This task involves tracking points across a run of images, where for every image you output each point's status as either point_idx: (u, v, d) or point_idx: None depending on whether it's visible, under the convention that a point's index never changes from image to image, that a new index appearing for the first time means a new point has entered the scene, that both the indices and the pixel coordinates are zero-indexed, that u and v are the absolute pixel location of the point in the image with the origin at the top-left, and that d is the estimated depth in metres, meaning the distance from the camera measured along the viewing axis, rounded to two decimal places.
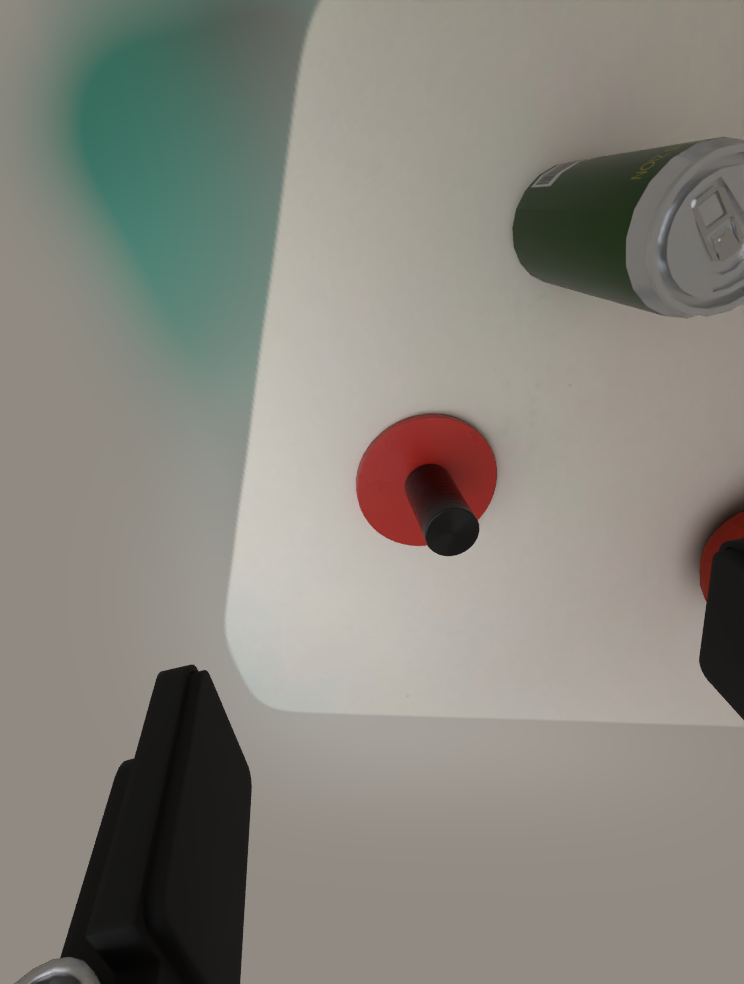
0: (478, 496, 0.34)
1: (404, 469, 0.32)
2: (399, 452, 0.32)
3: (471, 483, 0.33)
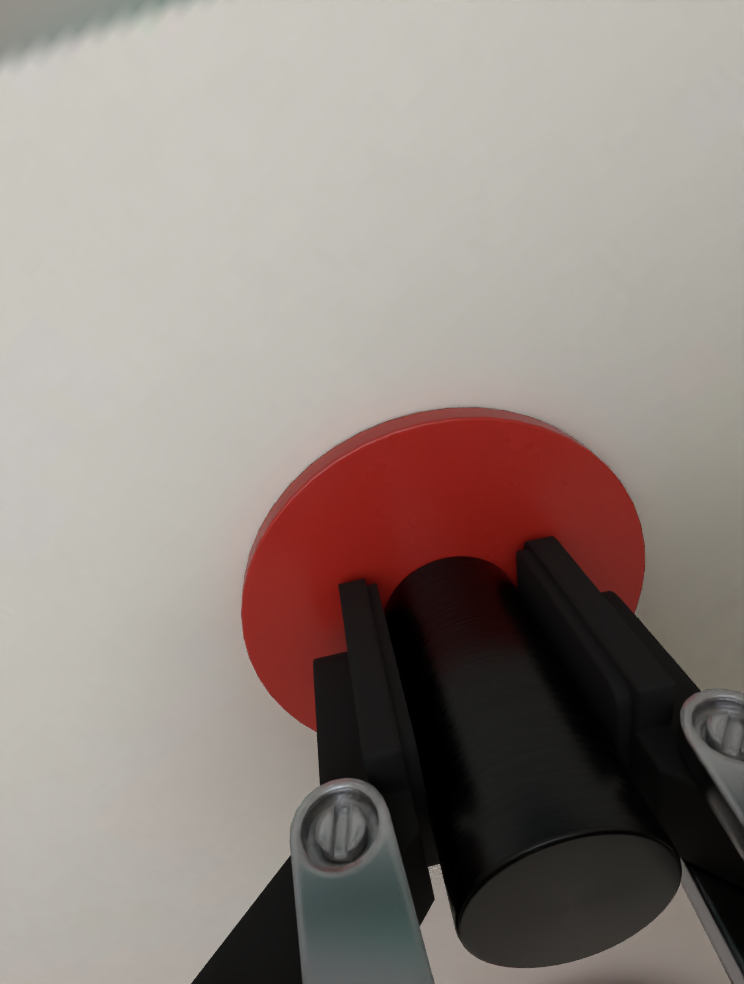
0: None
1: (468, 536, 0.11)
2: (511, 495, 0.10)
3: None
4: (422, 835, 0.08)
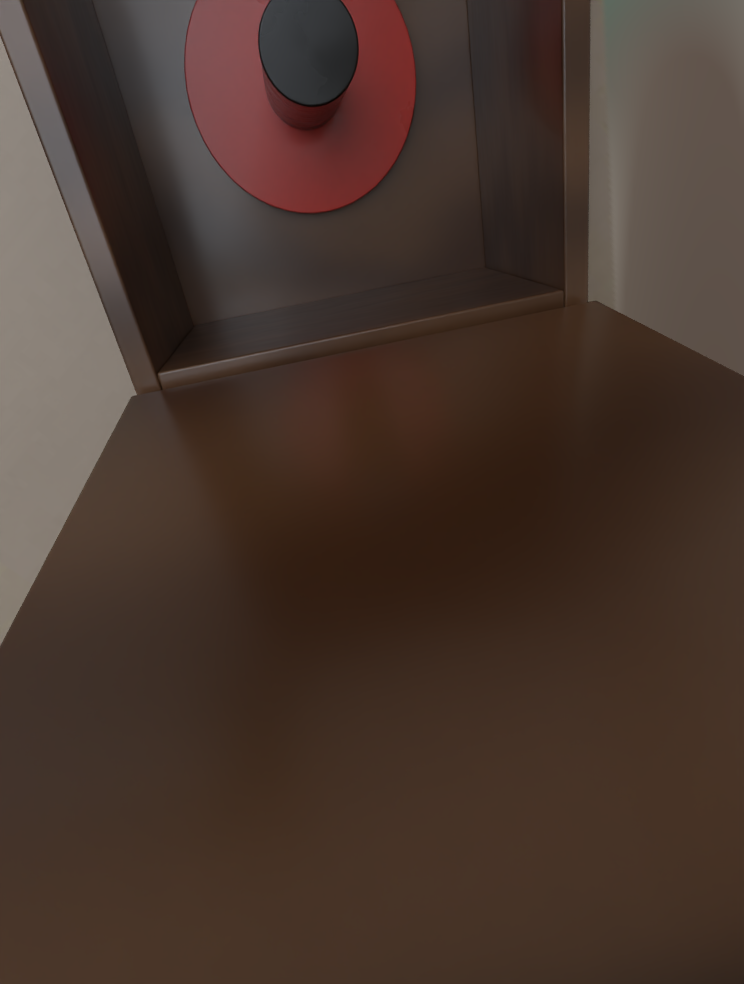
0: (326, 186, 0.22)
1: None
2: None
3: (340, 159, 0.22)
4: None
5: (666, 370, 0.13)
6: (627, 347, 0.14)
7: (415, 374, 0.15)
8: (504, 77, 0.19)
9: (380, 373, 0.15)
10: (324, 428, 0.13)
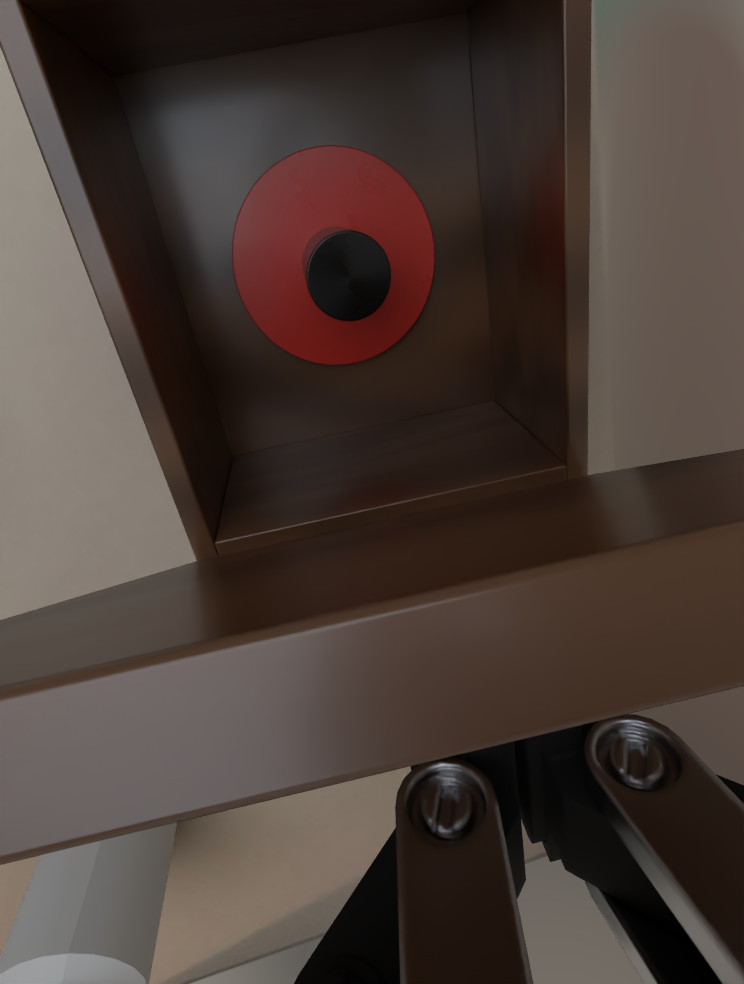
0: (354, 343, 0.25)
1: (340, 215, 0.22)
2: (359, 192, 0.22)
3: (366, 321, 0.24)
4: None
5: (640, 468, 0.15)
6: (610, 473, 0.16)
7: None
8: (513, 271, 0.21)
9: (402, 517, 0.18)
10: (346, 532, 0.15)
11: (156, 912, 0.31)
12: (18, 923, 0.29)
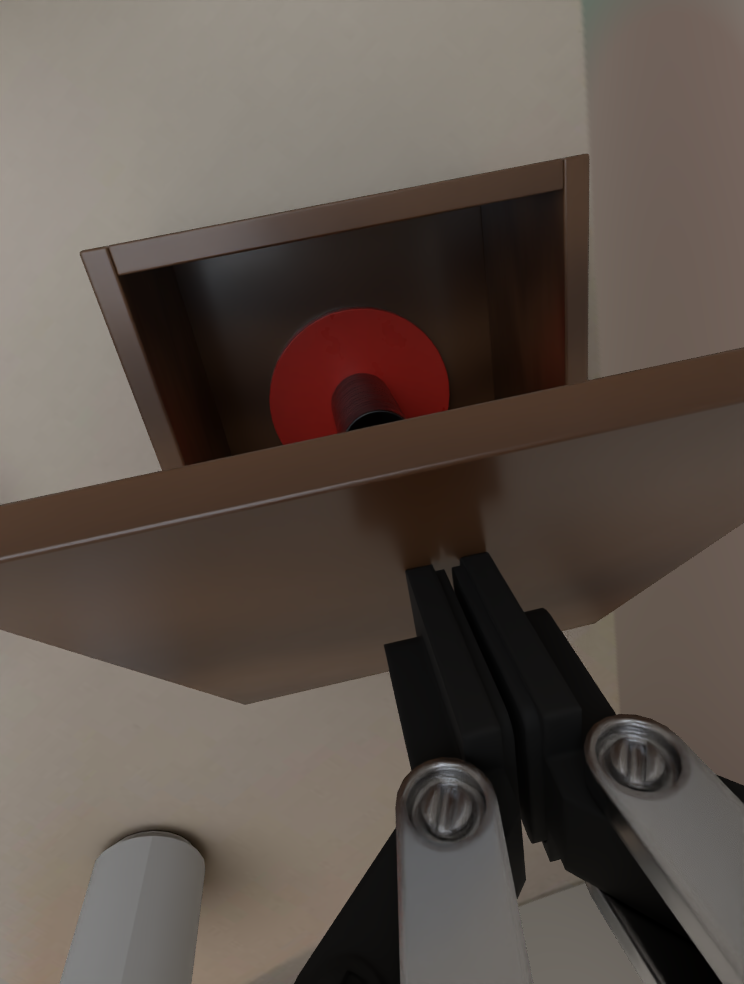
0: None
1: (366, 363, 0.25)
2: (383, 344, 0.25)
3: None
4: None
5: None
6: None
7: None
8: None
9: None
10: None
11: (190, 966, 0.34)
12: (66, 980, 0.32)
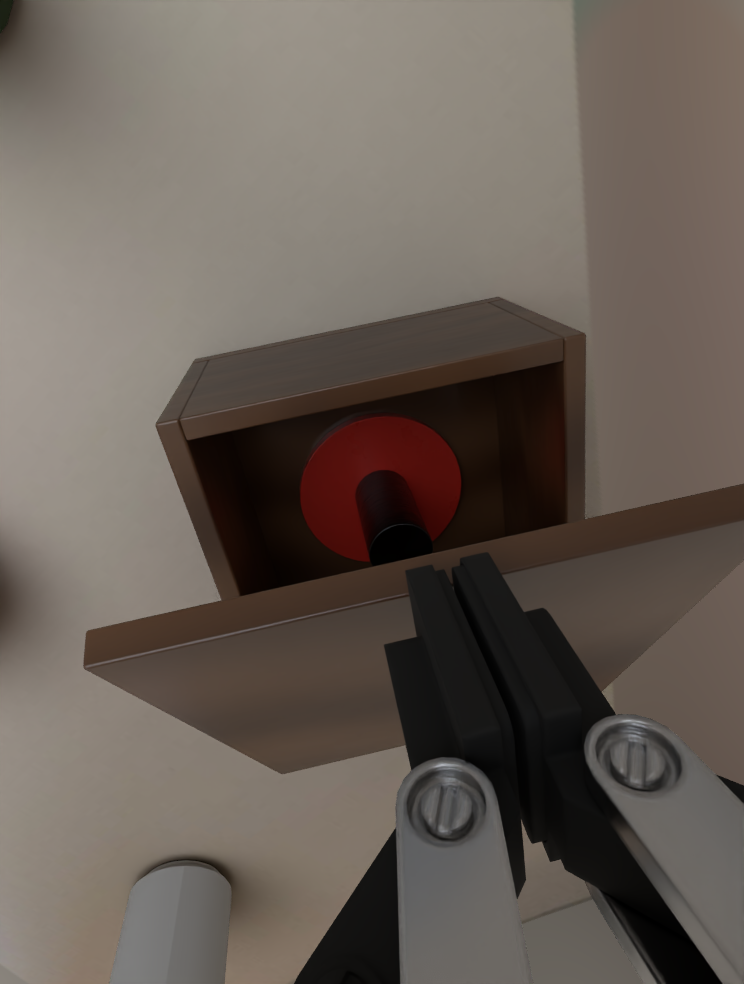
0: None
1: (387, 461, 0.28)
2: (402, 445, 0.28)
3: None
4: None
5: None
6: None
7: None
8: (525, 514, 0.27)
9: None
10: None
11: None
12: None
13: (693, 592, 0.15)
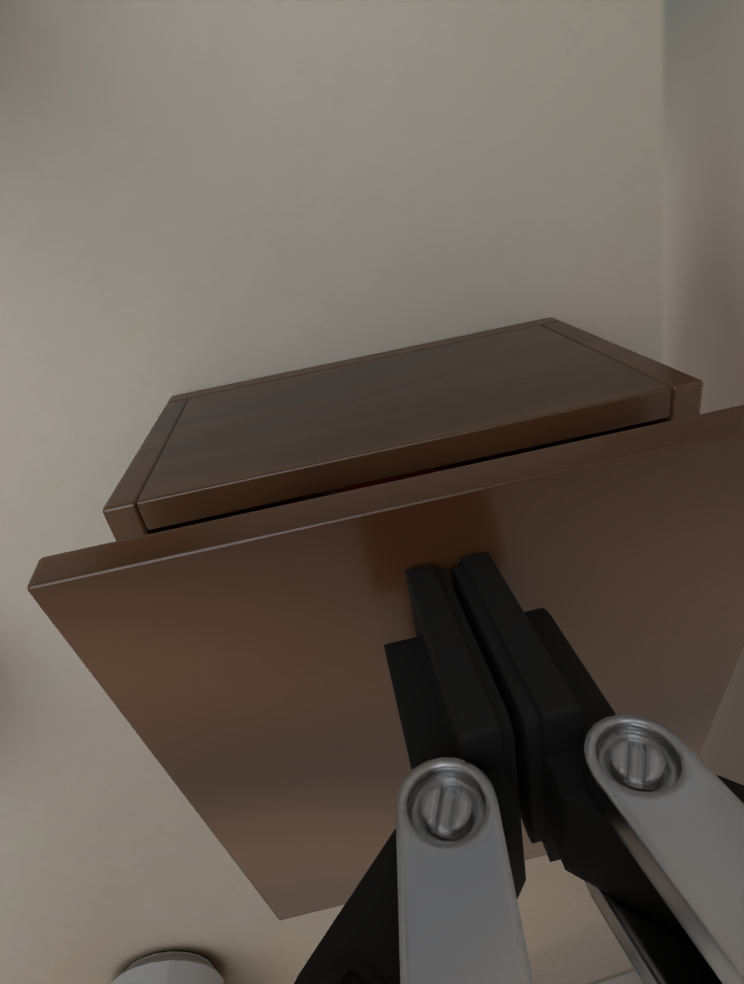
0: None
1: None
2: None
3: None
4: None
5: None
6: None
7: None
8: None
9: None
10: None
11: None
12: None
13: None
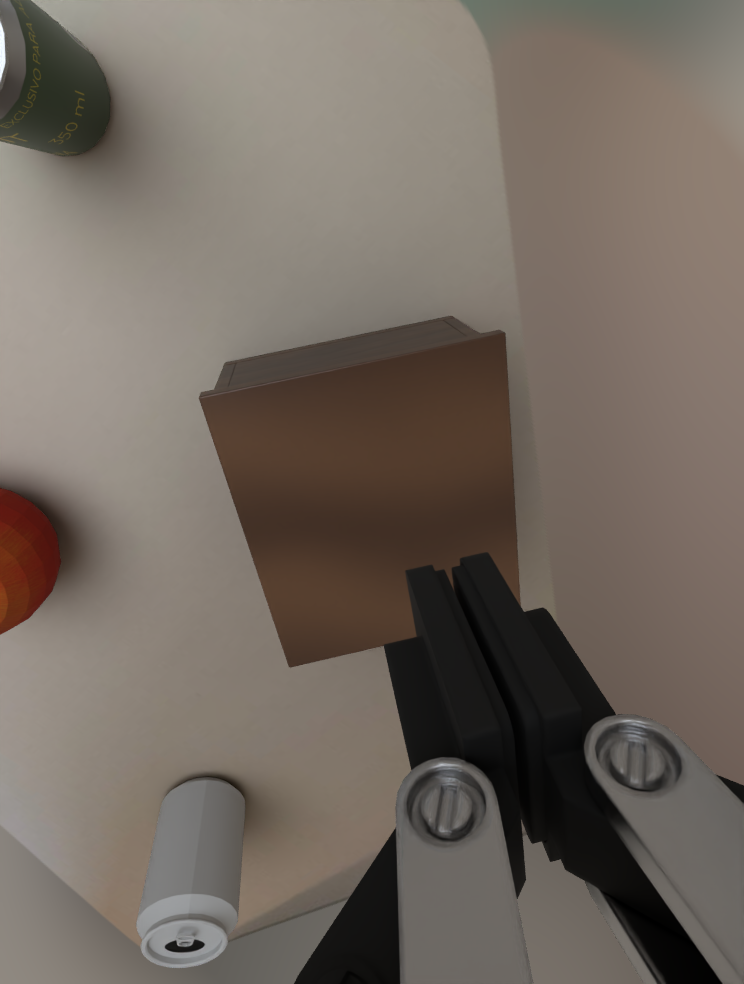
0: None
1: None
2: None
3: None
4: None
5: None
6: None
7: None
8: None
9: None
10: None
11: (239, 871, 0.46)
12: (152, 876, 0.44)
13: (498, 417, 0.28)
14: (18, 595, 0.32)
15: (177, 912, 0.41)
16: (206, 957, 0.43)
